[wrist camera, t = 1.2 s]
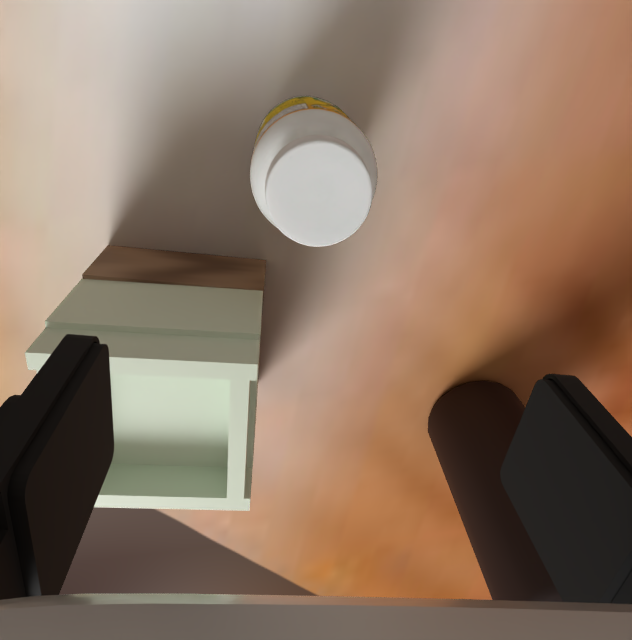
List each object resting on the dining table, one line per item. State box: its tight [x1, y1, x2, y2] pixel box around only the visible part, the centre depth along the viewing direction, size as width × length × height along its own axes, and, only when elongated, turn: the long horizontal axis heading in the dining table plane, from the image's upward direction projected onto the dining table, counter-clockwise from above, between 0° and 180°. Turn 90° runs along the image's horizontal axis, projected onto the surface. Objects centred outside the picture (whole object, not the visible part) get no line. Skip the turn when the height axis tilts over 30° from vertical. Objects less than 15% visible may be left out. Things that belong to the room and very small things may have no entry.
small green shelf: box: [25, 279, 263, 511], centre depth 25 cm, size 9×9×6 cm
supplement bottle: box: [250, 96, 377, 247], centre depth 23 cm, size 5×5×10 cm
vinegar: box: [428, 381, 563, 602], centre depth 28 cm, size 7×7×20 cm
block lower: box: [82, 245, 266, 321], centre depth 30 cm, size 9×9×4 cm
